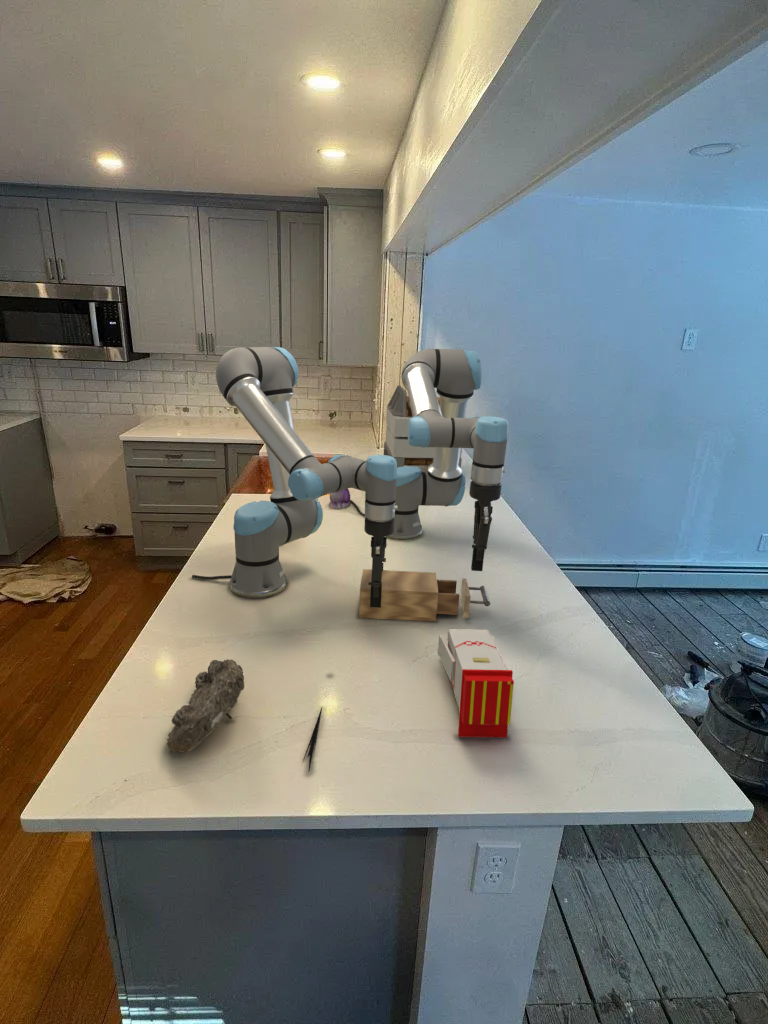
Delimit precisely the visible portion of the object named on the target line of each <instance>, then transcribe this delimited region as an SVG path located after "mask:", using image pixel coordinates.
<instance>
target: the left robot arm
mask: <svg viewBox="0 0 768 1024" xmlns="http://www.w3.org/2000/svg"><path fill="white" fill-rule="evenodd" d="M298 379H299V367H298V363H297V361H296V359H295V358H294V356H293V355H292V353H290V352H289V351H288V350H287V349H285V348H283V347H280V346H271V345H269V346H252V347H251V346H249V347H242V346H241V347H235V348H232V349H230V350H228V351H226V352H225V353H224V354H223V355H221V357H220V359H219V360H218V363H217V364H216V369H215V380H216V385H217V387H218V390H219V392H220V394H221V395H222V397H223V398H224V399H225V401H226V402H227V403H228V405H229V406H231V407H235V408H237V409H238V411H239V412H240V414H241V415H242V416H243V418H244V419H245V420H246V421H247V422H248V424H249V425H250V426H251V428H252V429H253V430H254V431H255V433H256V434H257V435H258V436H259V438H260V439H261V440H262V441H263V443H264V444H265V449H266V454H267V460H268V466H269V471H270V475H271V476H270V477H271V481H272V487H273V491H272V493H271V494H270V495H269V500H270V501H269V500H258V501H256V500H255V501H251V502H247V503H245V504H243V505H241V506H239V508H237V509H236V511H235V512H234V515H233V531H234V549H235V551H234V553H235V563H234V566H233V570H232V573H231V574H230V575H215V576H205V575H197V574H192V575H191V579H197V580H205V581H214V580H229V585H230V587H229V589H230V590H231V592H232V593H233V594H235V595H236V596H239V597H242V598H246V599H263V598H264V599H265V598H269V597H272V596H275V595H277V594H280V593H281V592H283V591H284V590H285V589H286V587H287V576H286V574H285V571H284V568H283V566H282V564H281V561H280V547H281V546H284V545H286V544H290V543H292V542H294V541H297V540H300V539H304V538H305V539H306V538H307V537H309V536H310V535H312V534H314V533H316V532H317V531H318V530H319V529H320V527H321V525H322V523H323V518H324V517H323V515H324V511H323V507H322V505H321V502H320V501H319V498H321V497H325V496H326V495H330V493H334V492H338V491H341V490H344V489H348V490H349V489H355V490H358V491H361V492H365V496H364V499H365V500H364V514H365V516H364V517H365V518H364V524H363V525H364V528H363V529H364V532H365V534H367V535H368V536H370V537H371V538H370V547H371V548H370V557H371V558H372V560H371V561H372V562H371V570H372V579H371V582H368V585H371V597H370V607H377V608H381V593H382V582H381V579H382V570H384V563H386V562H387V557H386V549H387V539H388V538H387V537H385V536H390V535H392V534H393V532H394V523H395V520H394V516H395V509H398V507H397V506H395V499H396V498H395V494H396V483H397V461H396V459H395V458H393V457H391V456H387V455H384V454H372V455H370V456H368V457H367V458H366V459H365V460H364V459H361V458H357V457H353V456H351V455H348V454H334V455H333V456H332V457H331V458H330V459H329V460H328V461H327V462H324V463H321V462H320V461H319V460H318V458H317V457H316V456H315V455H314V454H313V453H312V452H311V450H310V448H308V446H307V445H306V444H305V443H304V442H303V440H302V439H301V438H300V436H299V435H298V434H297V433H296V431H295V427H294V421H293V415H292V411H291V404H290V400H291V398H292V397H293V396H294V390H293V388H294V387H295V386H296V385H297V383H298Z"/></svg>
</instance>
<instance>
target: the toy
mask: <svg viewBox="0 0 768 1024" xmlns="http://www.w3.org/2000/svg"><path fill="white" fill-rule="evenodd" d="M446 640H447V643H446V641H445V639H444V636H443V635H442V634H439V637H438V646H437V656H438V657H439V659H440V661H441V663H442V666H443V668H444V670H445V672H446V674H447V677H448V679H449V681H450V684H451V687H452V690H453V693H454V697H455V701H456V705H457V708H458V711H459V714H458V715H459V716H458V730H457V731H458V732H457V737H458V738H508V731H509V726H510V725H511V717H512V707H513V697H514V696H513V695H514V684H515V680H514V679H513V673H514V671H513V670H512V669H508V667H507V665H506V662H505V661H504V659H503V658H502V655H501V653H500V651H499V649H498V647H497V643H496V639H495V637H494V635H493V634H491V632H490V631H489V629H467V628H466V629H465V628H463V629H461V628H460V629H459V628H448V630H447V639H446Z"/></svg>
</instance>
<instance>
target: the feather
mask: <svg viewBox="0 0 768 1024" xmlns="http://www.w3.org/2000/svg"><path fill="white" fill-rule="evenodd" d="M329 675H330V676H331V675H332V674H331V673H330V674H329ZM322 710H323V707H321V708H320V710H319V713H318V716H317V719H316V723H315V725H314V728H313V731H312V733H311V737H310V739H309V742H308V745H307V748H306V751H305V754H304V757H303V760H302V763H301V767H302V765H303V763H304V761H305V758H308V759H309V760H308V762H307V763H308V764H307V766H308V771H310V770H311V766H312V765H311V764H312V760H313V757H315V756H314V755H315V751H316V749H315V746H317V739H318V733H319V729H320V722H321V717H322V712H323V711H322ZM313 754H314V755H313ZM306 755H307V757H306Z"/></svg>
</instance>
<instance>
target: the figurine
mask: <svg viewBox="0 0 768 1024" xmlns="http://www.w3.org/2000/svg"><path fill="white" fill-rule="evenodd" d="M350 493H351V492H350V490H349V488H348V489H344V490H341V491H338V492H334V493H330V494H329V500H330V501H329V506H330V508H331V509H344V508H345V509H346V508H347V507H349V506H350V503H351V502H350V500H351V494H350Z"/></svg>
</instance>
